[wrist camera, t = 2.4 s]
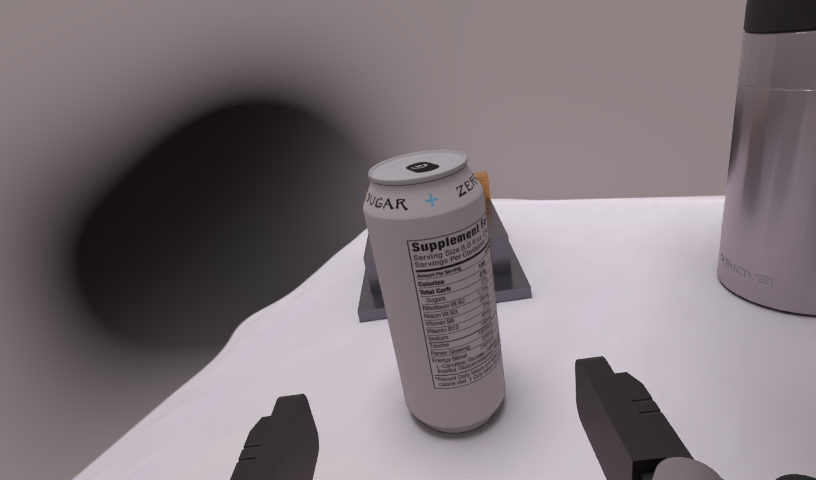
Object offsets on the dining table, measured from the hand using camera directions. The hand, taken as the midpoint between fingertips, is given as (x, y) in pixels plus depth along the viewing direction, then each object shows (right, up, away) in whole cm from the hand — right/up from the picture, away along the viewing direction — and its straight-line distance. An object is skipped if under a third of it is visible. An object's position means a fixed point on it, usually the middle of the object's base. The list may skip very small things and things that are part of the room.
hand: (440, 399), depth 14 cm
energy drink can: (+2, -5, +15) cm, 16 cm away
